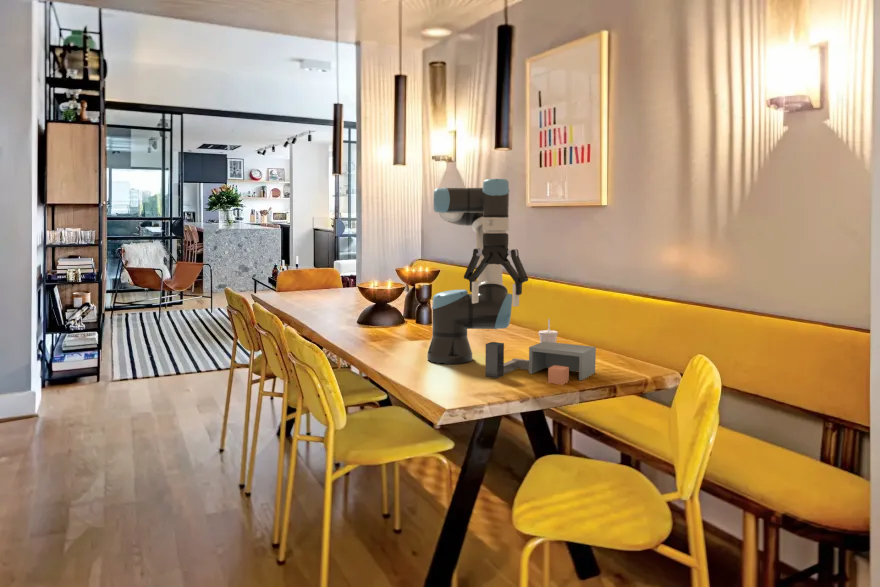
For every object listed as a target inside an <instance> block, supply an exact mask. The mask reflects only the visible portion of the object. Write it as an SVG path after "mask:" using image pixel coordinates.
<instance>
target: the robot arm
mask: <svg viewBox="0 0 880 587" xmlns="http://www.w3.org/2000/svg"><path fill="white" fill-rule="evenodd" d="M482 183H483V184H482V187H437V188H435V189H434V190H433V211H434V212H435V213H438V214H439V216H440V218H442V220H444V221H445V222H447V223H451V224H453V225H456V226H471V229H472V231H473V232H474V234H476V235H475V236H476V237H475V238H476V240H475V241H476V243H475V244H476V248H473V250H472V256H471V258H470V260H469V261H470V262H469V264H468V265H467V268H466V271H465V273H464V274H463V279H465V280H468V281H469V292H470V293H468V290H467V289H451V290H444V291H441V292H437V293H436V294H434V295H433V297H432V306H431V309H432V337H431V338H432V339H431V341H430V344H429V347H428V350H427V359H428V360H430V361H432V362H431V363H433V362H436V363H435V364H440V363H444V364H443V365H457V364H458V365H459V364H466V362H467V363H469V362H472V361H473V351H472V348H471V345H470V341H469V339H468V330H500V329H501V330H502V329H503V330H504V329H507V328H508V327H509V326H510V324H511V317H512V316H511V315H512V307H519V306H520V295H522V294H523V283H526V282H528V281H529V277H528V275H527V273H526V270H525V268H524V266H523V263H522V261H521V259H520V257H519V250H518V249H517V248H515V249H509V233H508V232H509V230H510V229H509V228H510V226H509V206H510V205H509V200H510V198H509V196H510V186H509V181H508V179H504V178H488V179H484V180H483V182H482ZM508 257H510V258H511V261H512V264H513V265H514V266H513V265H512V264H511V261H510V260H509V259H508ZM514 267H515V268H514ZM503 268H504V270H506V272H507V273H508V275H509V276H510V277H511V279H512V280H513V281H514V283H512V294H511V293H509V292H508V288H507V287H506V285H504V283H503V282H504V281H503ZM428 360H427V361H428ZM430 361H429V362H430Z"/></svg>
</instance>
